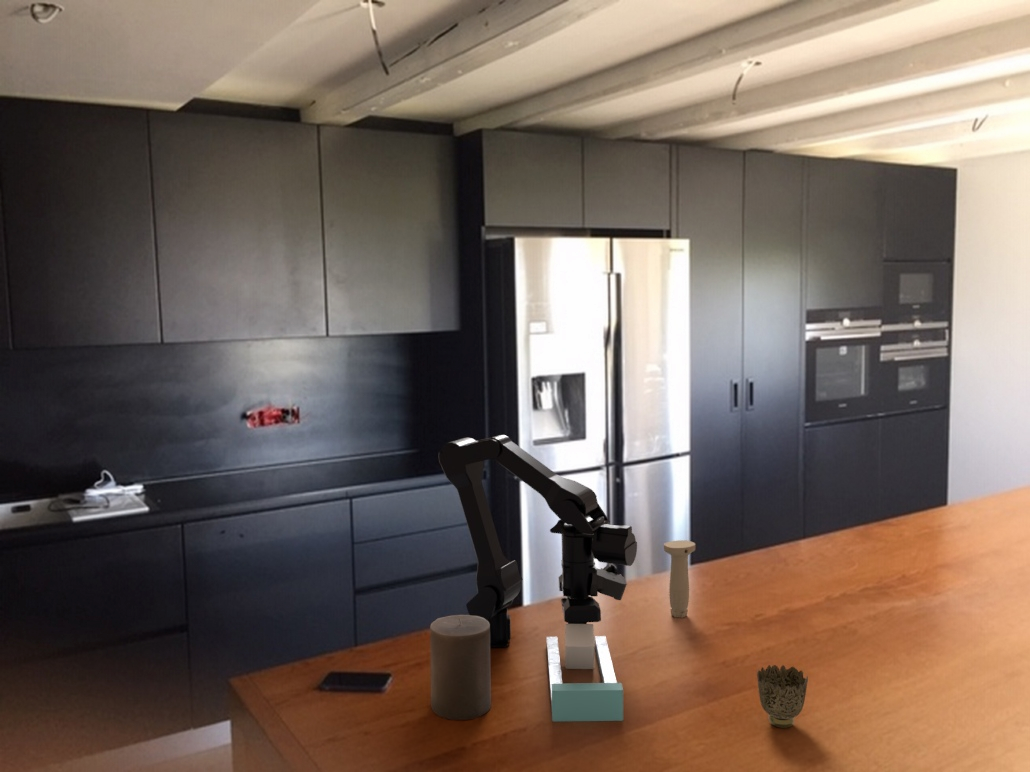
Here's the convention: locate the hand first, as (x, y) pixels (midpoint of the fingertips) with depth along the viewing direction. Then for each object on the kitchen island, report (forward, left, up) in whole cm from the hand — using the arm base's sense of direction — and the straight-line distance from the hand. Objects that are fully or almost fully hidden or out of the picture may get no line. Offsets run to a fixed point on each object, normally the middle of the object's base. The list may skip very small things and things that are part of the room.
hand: (579, 641), depth 160 cm
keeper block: (0, -2, -2) cm, 3 cm away
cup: (+29, -25, -3) cm, 38 cm away
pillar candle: (-20, -18, -4) cm, 27 cm away
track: (0, -9, -3) cm, 9 cm away
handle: (+22, +20, -3) cm, 30 cm away
